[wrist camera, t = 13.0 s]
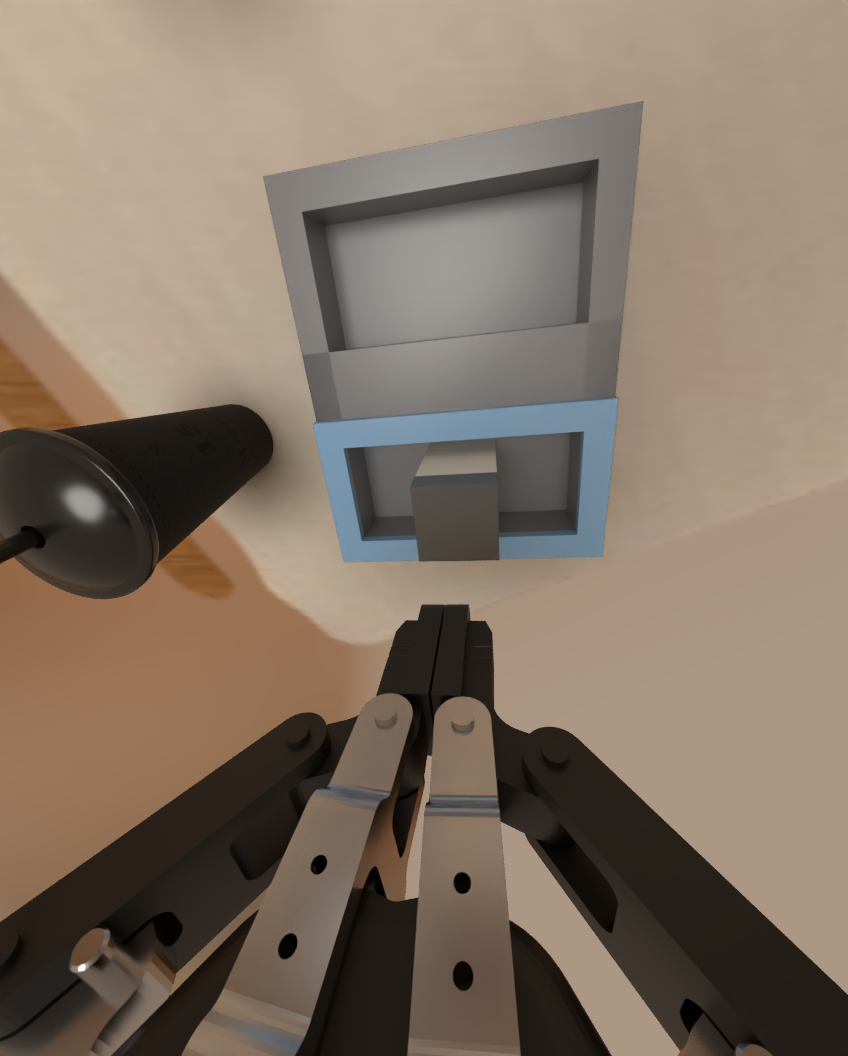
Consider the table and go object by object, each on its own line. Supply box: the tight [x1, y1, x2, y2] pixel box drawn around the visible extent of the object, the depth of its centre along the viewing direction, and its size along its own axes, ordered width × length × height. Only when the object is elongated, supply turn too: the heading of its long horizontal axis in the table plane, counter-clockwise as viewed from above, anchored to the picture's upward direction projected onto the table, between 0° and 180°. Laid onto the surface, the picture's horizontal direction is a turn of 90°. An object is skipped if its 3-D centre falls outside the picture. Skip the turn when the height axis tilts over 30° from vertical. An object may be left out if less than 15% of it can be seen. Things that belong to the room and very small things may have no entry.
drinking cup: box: [0, 404, 273, 599], centre depth 20 cm, size 8×8×20 cm
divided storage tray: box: [263, 101, 643, 562], centre depth 23 cm, size 16×20×5 cm
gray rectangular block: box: [410, 438, 499, 561], centre depth 23 cm, size 4×4×8 cm
